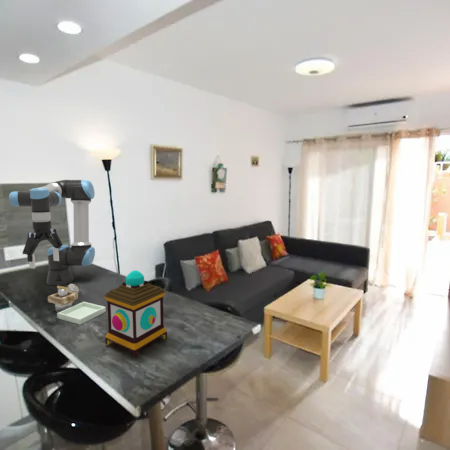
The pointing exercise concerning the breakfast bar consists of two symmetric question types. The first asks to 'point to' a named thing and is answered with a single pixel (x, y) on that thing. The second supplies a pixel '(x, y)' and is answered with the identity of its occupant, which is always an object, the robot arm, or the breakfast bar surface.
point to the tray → (81, 313)
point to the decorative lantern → (135, 313)
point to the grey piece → (62, 293)
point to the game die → (73, 288)
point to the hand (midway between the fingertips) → (45, 264)
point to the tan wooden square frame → (61, 301)
